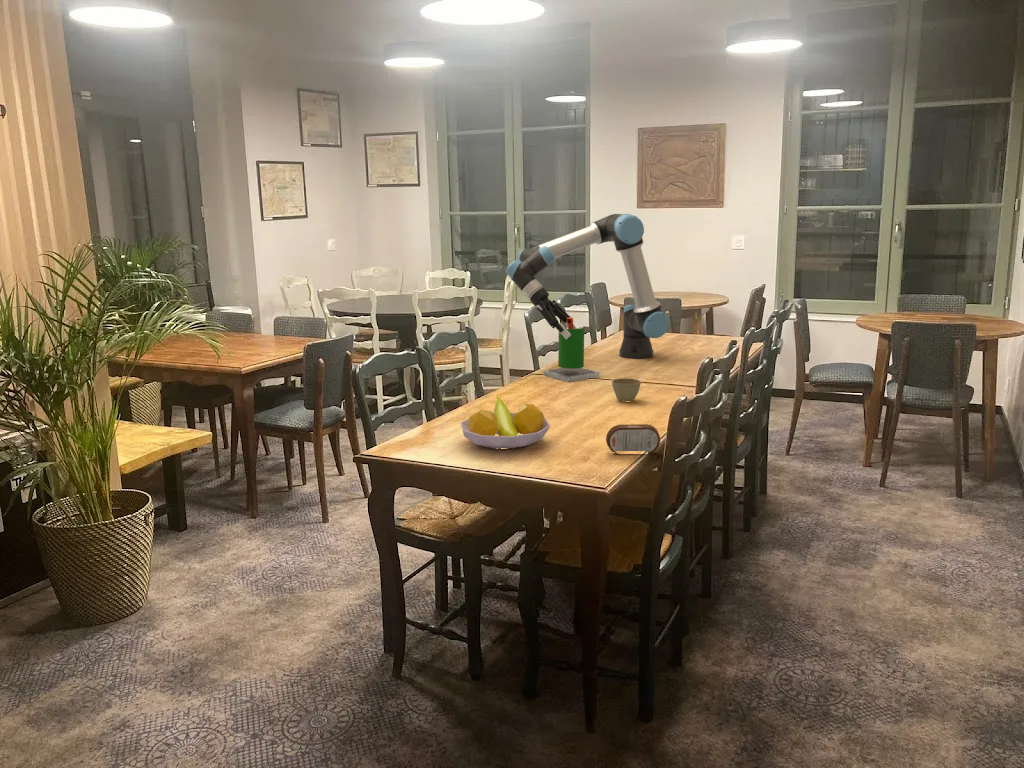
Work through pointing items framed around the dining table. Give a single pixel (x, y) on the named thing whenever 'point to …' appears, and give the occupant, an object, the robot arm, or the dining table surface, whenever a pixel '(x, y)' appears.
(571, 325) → the green cylindrical container
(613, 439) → the tin
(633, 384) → the flower pot
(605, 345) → the dining table surface
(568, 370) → the grey flat square slab
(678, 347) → the dining table surface
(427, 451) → the dining table surface
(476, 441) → the fruit bowl
